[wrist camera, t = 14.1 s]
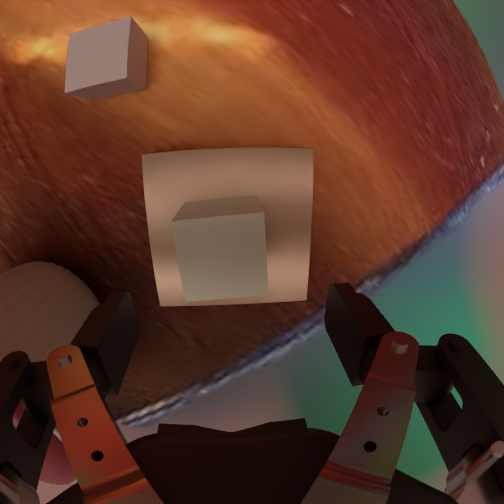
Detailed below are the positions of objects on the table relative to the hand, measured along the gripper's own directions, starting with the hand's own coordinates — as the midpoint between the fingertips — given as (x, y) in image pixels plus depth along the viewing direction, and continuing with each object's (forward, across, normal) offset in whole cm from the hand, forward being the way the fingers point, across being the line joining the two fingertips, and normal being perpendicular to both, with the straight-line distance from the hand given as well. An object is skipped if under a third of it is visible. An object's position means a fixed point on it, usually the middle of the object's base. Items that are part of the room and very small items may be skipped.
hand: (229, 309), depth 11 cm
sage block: (+10, 0, 0) cm, 10 cm away
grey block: (+14, +9, -14) cm, 22 cm away
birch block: (+14, 0, 0) cm, 14 cm away
